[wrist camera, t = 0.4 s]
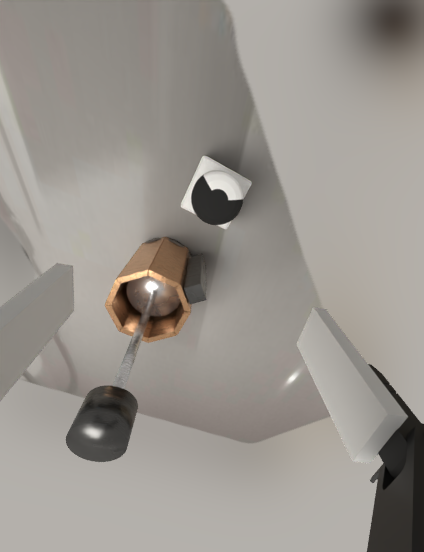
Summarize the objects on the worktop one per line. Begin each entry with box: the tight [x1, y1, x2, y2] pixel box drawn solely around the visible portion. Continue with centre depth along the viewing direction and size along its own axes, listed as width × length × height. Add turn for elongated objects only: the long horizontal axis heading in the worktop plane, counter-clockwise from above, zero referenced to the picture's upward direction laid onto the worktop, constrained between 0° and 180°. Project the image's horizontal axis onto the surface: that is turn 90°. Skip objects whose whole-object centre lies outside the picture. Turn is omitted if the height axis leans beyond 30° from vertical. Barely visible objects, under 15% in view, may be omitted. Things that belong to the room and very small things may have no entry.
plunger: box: [66, 275, 180, 462], centre depth 27 cm, size 8×8×22 cm
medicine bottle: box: [181, 155, 252, 229], centre depth 35 cm, size 7×7×12 cm
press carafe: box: [105, 237, 206, 343], centre depth 39 cm, size 10×12×14 cm
